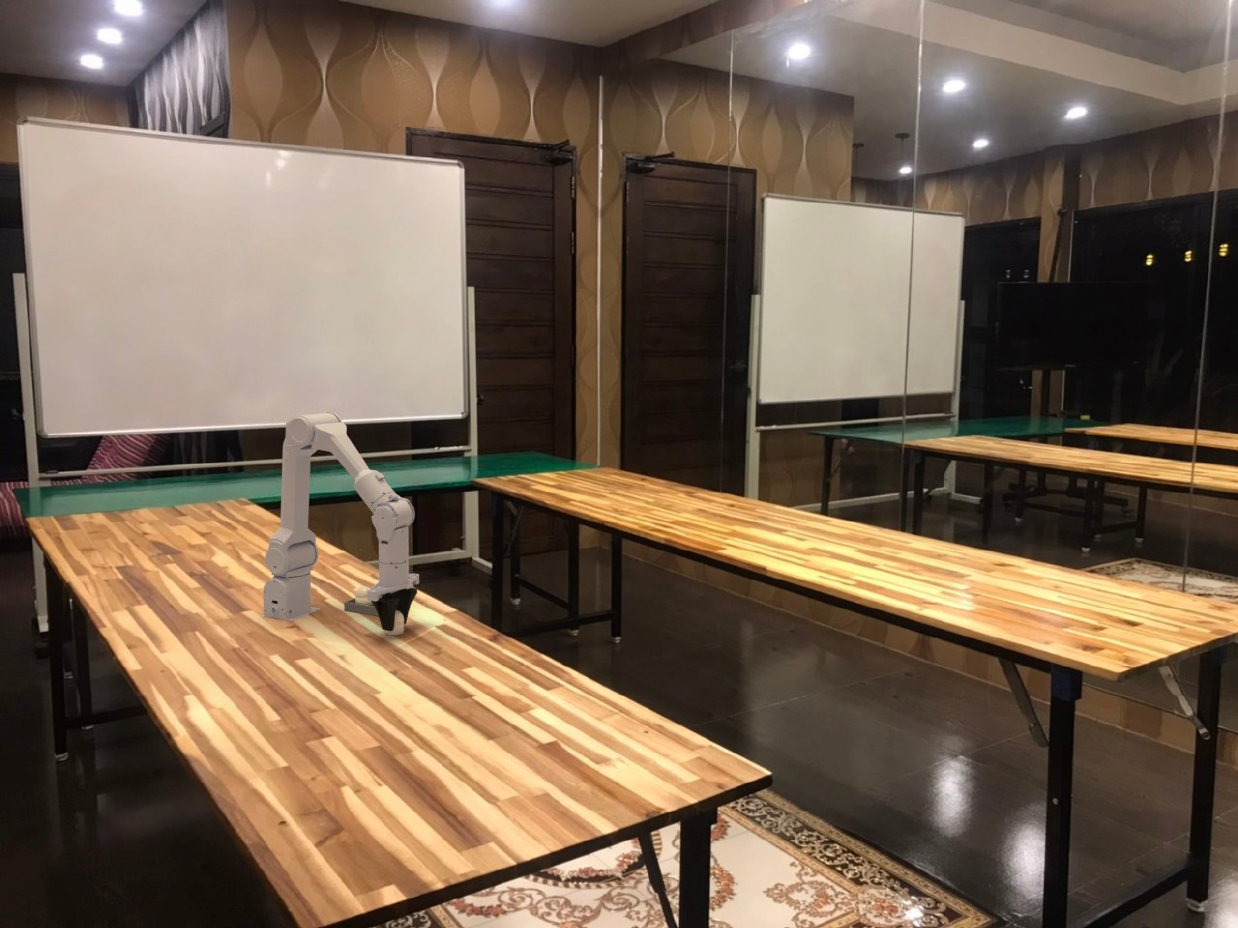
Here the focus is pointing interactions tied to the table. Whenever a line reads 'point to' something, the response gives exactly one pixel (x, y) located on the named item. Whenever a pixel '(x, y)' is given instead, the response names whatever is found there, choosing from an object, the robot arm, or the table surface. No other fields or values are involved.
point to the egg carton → (360, 608)
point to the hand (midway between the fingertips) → (394, 626)
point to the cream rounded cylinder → (397, 624)
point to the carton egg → (362, 596)
